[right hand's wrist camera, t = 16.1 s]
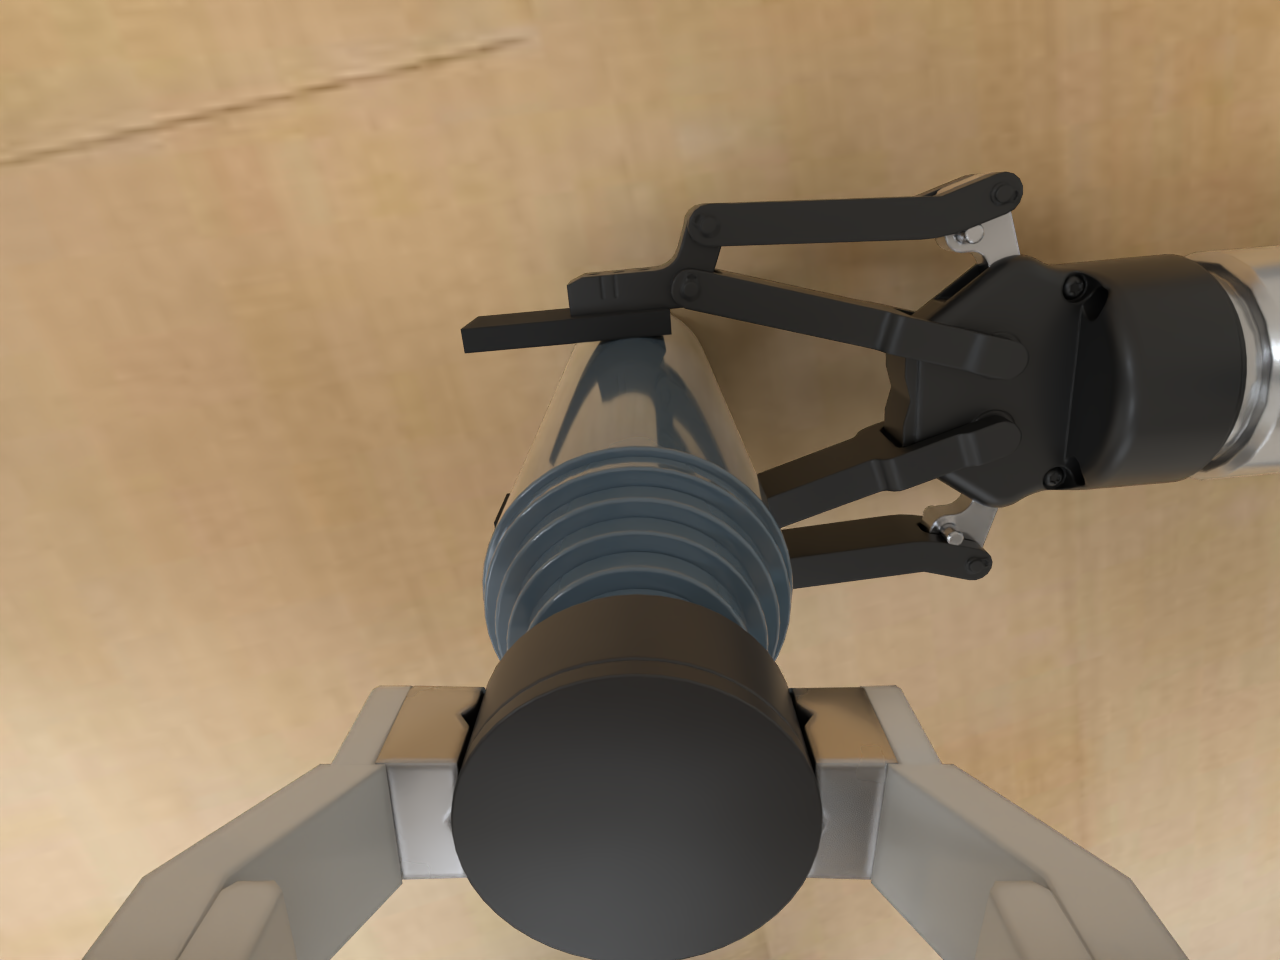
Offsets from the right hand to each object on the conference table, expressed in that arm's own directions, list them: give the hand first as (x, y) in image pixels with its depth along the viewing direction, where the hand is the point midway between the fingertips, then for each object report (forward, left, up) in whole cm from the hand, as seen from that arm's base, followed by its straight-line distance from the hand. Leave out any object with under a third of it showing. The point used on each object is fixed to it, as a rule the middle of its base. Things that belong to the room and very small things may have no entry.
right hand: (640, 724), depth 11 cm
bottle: (0, 0, -22) cm, 22 cm away
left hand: (-3, -4, -16) cm, 17 cm away
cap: (0, 0, +2) cm, 2 cm away
